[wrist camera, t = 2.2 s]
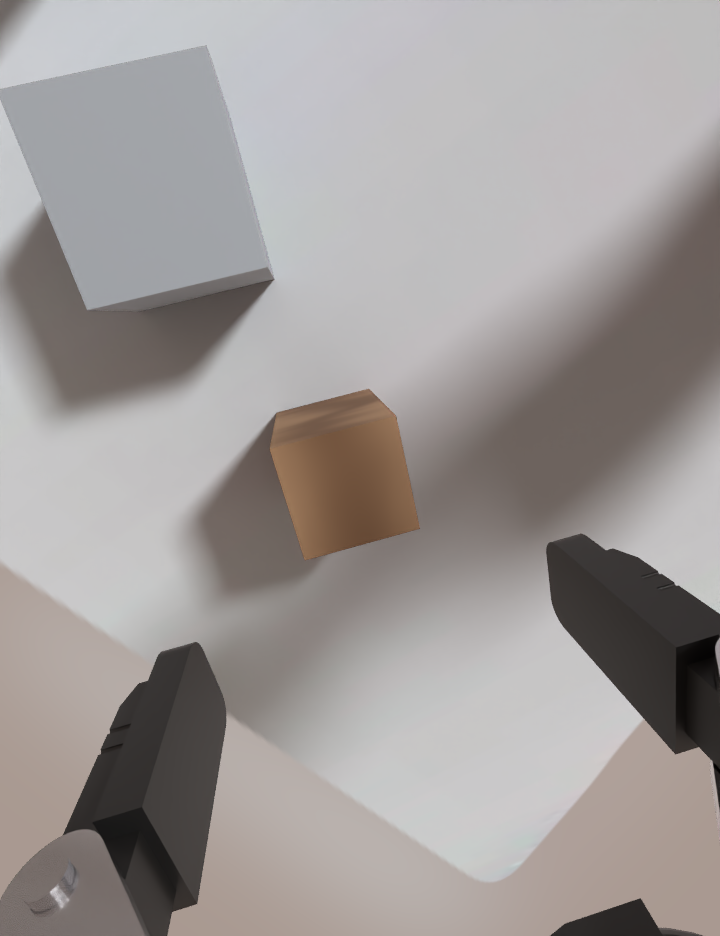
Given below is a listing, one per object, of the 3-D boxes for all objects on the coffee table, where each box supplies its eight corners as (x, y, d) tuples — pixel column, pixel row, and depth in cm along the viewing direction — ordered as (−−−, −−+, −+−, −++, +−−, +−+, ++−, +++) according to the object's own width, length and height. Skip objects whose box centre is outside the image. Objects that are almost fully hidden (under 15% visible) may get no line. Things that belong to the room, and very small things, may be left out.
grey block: (231, 121, 20) (206, 45, 14) (274, 279, 22) (267, 266, 16) (82, 154, 20) (-4, 89, 14) (141, 311, 22) (87, 310, 16)
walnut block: (368, 388, 24) (396, 415, 18) (388, 474, 26) (420, 528, 19) (276, 412, 24) (269, 448, 17) (302, 498, 26) (304, 560, 19)
